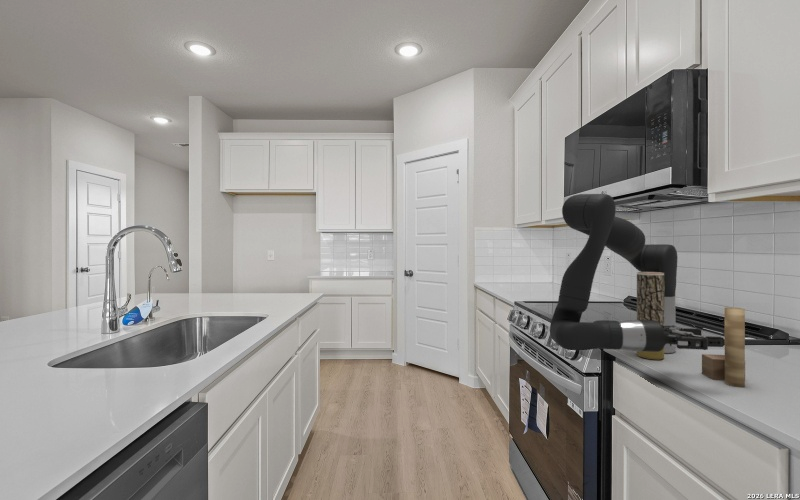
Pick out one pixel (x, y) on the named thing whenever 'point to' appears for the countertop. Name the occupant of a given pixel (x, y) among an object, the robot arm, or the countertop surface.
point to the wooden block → (713, 366)
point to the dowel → (735, 346)
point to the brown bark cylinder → (650, 304)
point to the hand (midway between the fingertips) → (711, 337)
